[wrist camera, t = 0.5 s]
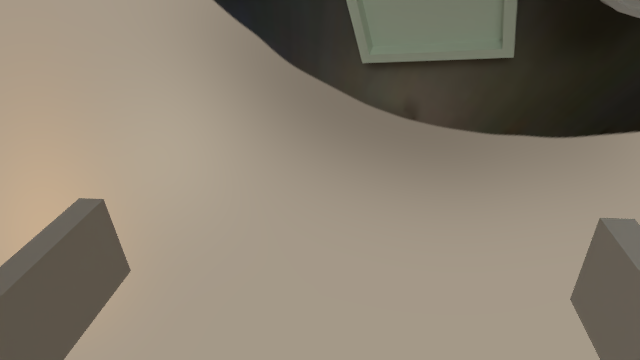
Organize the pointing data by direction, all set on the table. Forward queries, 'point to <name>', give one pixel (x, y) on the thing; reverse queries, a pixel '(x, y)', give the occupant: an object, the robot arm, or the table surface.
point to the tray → (433, 29)
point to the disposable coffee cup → (625, 6)
